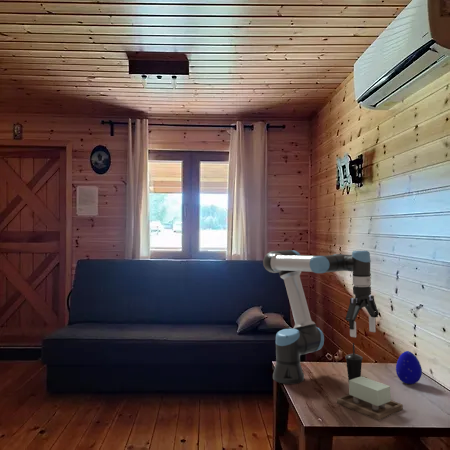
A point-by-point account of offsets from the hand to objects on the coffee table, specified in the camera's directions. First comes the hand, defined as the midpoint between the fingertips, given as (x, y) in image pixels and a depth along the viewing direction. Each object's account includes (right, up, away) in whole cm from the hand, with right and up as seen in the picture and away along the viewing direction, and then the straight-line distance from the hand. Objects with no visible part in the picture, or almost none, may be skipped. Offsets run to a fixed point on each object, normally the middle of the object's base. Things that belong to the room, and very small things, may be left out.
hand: (363, 334), depth 179 cm
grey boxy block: (-1, -23, -12) cm, 26 cm away
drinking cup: (-1, -27, +10) cm, 29 cm away
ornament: (+26, -27, +13) cm, 39 cm away
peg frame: (-1, -27, -12) cm, 29 cm away
